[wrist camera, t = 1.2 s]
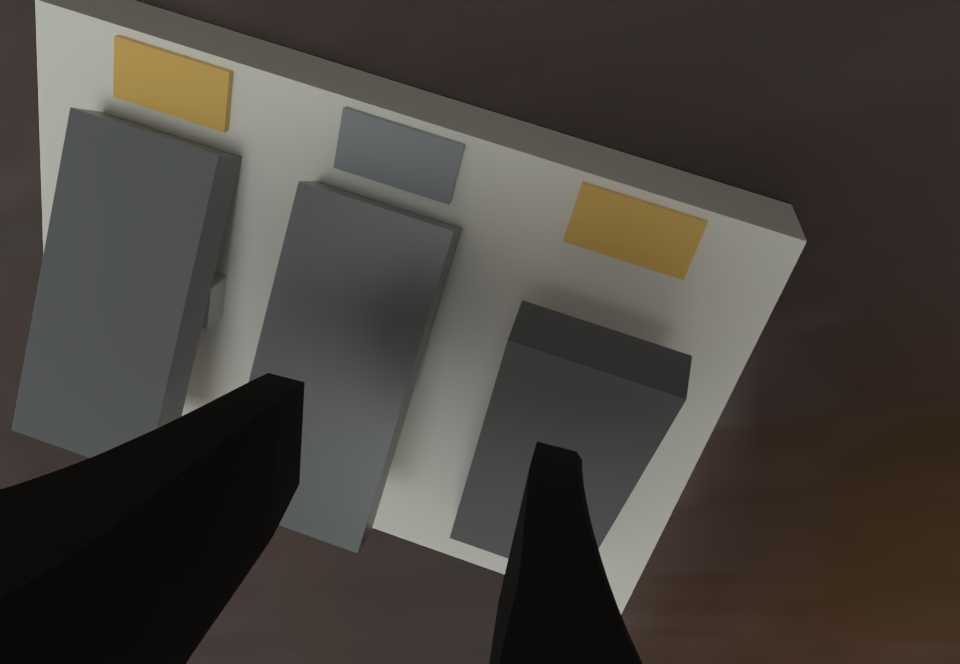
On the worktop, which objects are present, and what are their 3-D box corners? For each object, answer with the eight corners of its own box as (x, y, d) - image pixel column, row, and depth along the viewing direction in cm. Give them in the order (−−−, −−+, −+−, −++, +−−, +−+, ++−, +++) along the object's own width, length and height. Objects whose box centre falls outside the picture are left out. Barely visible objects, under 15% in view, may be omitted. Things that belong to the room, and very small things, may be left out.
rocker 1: (241, 156, 19) (218, 155, 18) (171, 460, 21) (145, 478, 19) (102, 111, 19) (70, 107, 18) (43, 416, 21) (11, 429, 20)
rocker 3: (692, 355, 16) (686, 399, 15) (586, 544, 22) (578, 583, 21) (522, 299, 16) (507, 339, 15) (462, 501, 22) (449, 537, 21)
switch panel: (791, 204, 19) (812, 255, 16) (625, 555, 25) (619, 637, 22) (103, -10, 20) (9, 2, 17) (100, 372, 26) (30, 428, 23)
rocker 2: (462, 228, 18) (454, 231, 17) (371, 531, 20) (357, 553, 19) (317, 181, 19) (298, 181, 17) (239, 485, 20) (218, 503, 19)
